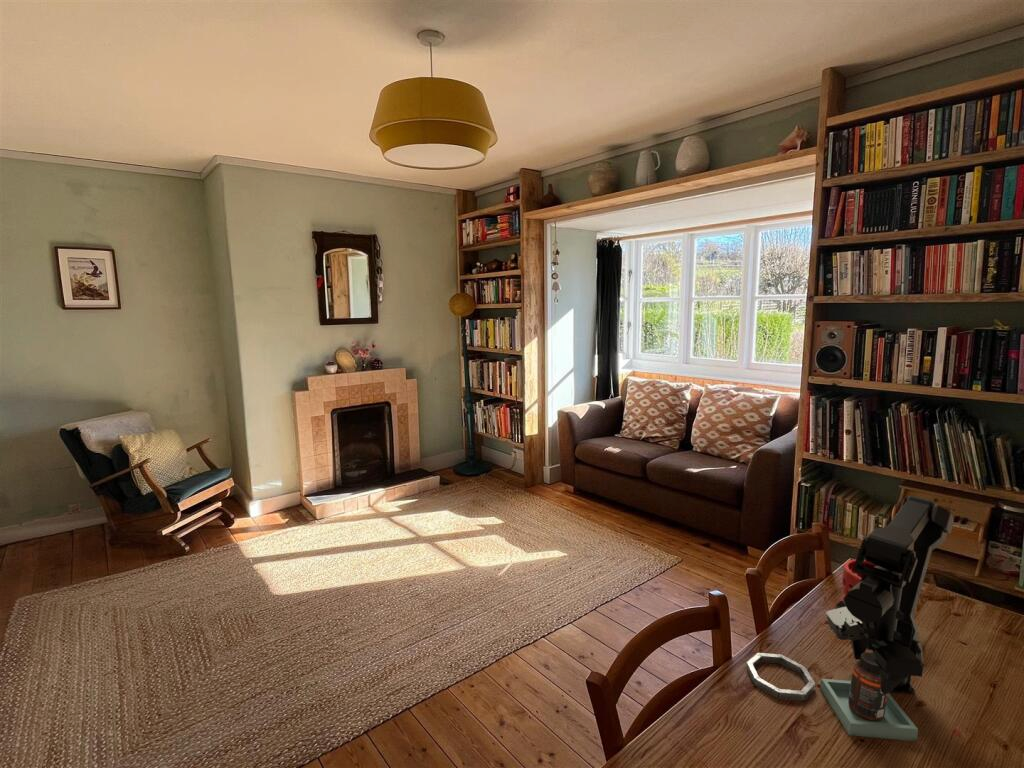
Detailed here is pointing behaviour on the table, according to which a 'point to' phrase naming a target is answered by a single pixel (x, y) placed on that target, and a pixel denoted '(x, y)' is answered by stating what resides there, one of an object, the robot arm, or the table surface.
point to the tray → (888, 727)
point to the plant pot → (851, 577)
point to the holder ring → (774, 690)
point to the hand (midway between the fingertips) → (870, 675)
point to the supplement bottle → (867, 689)
